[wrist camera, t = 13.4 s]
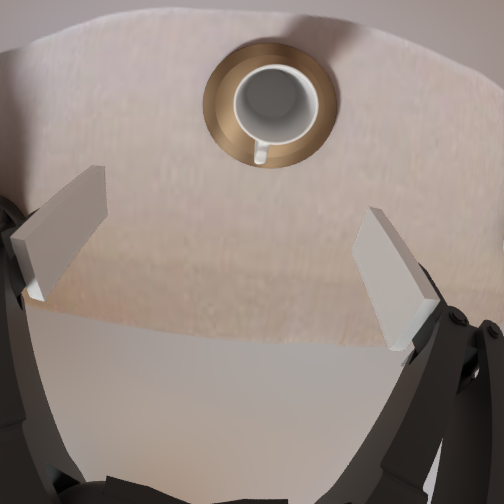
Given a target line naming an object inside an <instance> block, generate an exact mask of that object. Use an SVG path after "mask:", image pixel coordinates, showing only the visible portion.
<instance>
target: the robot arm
mask: <svg viewBox="0 0 504 504" xmlns="http://www.w3.org/2000/svg"><path fill="white" fill-rule="evenodd" d="M107 215H108V213H107V199H106V181H105V166H91V167H89V168H88V169H87V170H85V171H84V172H83V173H82V174H80V175H79V176H78V177H76V178H75V179H74V180H73V181H71V182H70V183H69V184H68V185H67V186H65V187H64V188H63V189H62V190H60V191H59V192H58V193H57V194H56V195H55V196H53V197H52V198H51V199H50V200H49V201H48V202H47V203H45V204H44V205H43V206H42V207H41V208H39V209H37V210H36V211H34V212H32V213H31V214H30V215H28V216H27V217H26V218H24V217H23V215H22V214H21V212H20V211H19V210H18V208H17V207H16V206H15V205H14V204H13V203H12V202H10V201H9V200H7V199H6V198H3V197H0V504H190V503H187V502H185V501H182V500H179V499H177V498H174V497H172V496H169V495H167V494H164V493H162V492H160V491H158V490H155V489H153V488H151V487H149V486H144V485H140V484H136V483H132V482H128V481H124V480H120V479H117V478H114V477H110V476H107V477H106V481H92V482H86V481H85V479H84V477H83V475H82V473H81V472H80V470H79V468H78V467H77V465H76V464H75V463H74V461H73V460H72V459H71V457H70V456H69V454H68V452H67V451H66V448H65V446H64V443H63V441H62V439H61V436H60V434H59V431H58V429H57V426H56V424H55V421H54V418H53V415H52V413H51V410H50V407H49V404H48V401H47V398H46V395H45V392H44V389H43V385H42V382H41V379H40V375H39V371H38V367H37V364H36V360H35V356H34V351H33V347H32V343H31V338H30V333H29V328H28V322H27V316H26V310H25V303H24V298H23V296H22V293H21V292H22V291H23V289H24V288H25V286H26V288H27V290H28V293H29V295H30V298H34V299H37V300H40V301H44V302H45V300H46V299H47V297H48V296H49V294H50V293H51V291H52V290H53V288H54V287H55V285H56V284H57V282H58V281H59V279H60V278H61V276H62V275H63V273H64V272H65V270H66V269H67V268H68V266H69V265H70V263H71V262H72V261H73V259H74V258H75V256H76V255H77V254H78V252H79V251H80V250H81V248H82V247H83V246H84V244H85V243H86V242H87V240H88V239H89V238H90V237H91V235H92V234H93V233H94V231H95V230H96V229H97V228H98V226H99V225H100V224H101V223H102V221H103V220H104V219H105V218H106V217H107ZM351 253H352V255H353V258H354V260H355V262H356V265H357V267H358V270H359V272H360V274H361V277H362V279H363V282H364V284H365V287H366V289H367V292H368V295H369V297H370V300H371V302H372V305H373V308H374V310H375V313H376V316H377V318H378V321H379V324H380V327H381V330H382V332H383V335H384V338H385V341H386V344H387V347H388V350H389V351H390V350H391V351H401V350H402V351H404V350H405V349H406V347H407V346H408V345H409V344H410V342H411V341H412V342H413V344H414V347H415V348H414V350H413V351H412V352H411V353H410V355H409V356H408V357H407V358H406V359H405V361H404V362H403V363H402V364H401V366H404V365H405V366H404V368H403V371H402V373H401V375H400V377H399V379H398V381H397V383H396V385H395V387H394V389H393V391H392V393H391V395H390V397H389V399H388V401H387V403H386V404H385V406H384V408H383V410H382V412H381V413H380V415H379V417H378V419H377V420H376V422H375V424H374V425H373V427H372V429H371V431H370V432H369V434H368V435H367V437H366V439H365V440H364V442H363V444H362V445H361V447H360V448H359V450H358V452H357V453H356V455H355V456H354V457H353V459H352V460H351V462H350V463H349V465H348V466H347V468H346V469H345V470H344V472H343V473H342V475H341V476H340V477H339V479H338V480H337V482H336V483H335V484H334V486H333V487H332V488H331V489H330V490H329V491H328V492H327V493H325V495H323V496H322V497H321V498H320V499H319V500H317V501H316V503H315V504H427V501H428V494H427V493H425V492H424V491H423V485H424V482H425V480H426V478H427V475H428V473H429V471H430V468H431V466H432V464H433V462H434V459H435V457H436V454H437V451H438V449H439V446H440V443H441V441H442V447H441V455H440V461H439V467H438V472H437V477H436V483H435V487H434V492H433V496H432V500H431V504H504V336H503V334H502V331H501V330H500V328H499V326H498V325H497V324H496V323H493V322H492V321H490V320H484V321H483V322H482V324H481V325H480V326H479V328H477V327H474V326H471V325H469V321H468V319H467V317H466V316H465V315H464V313H463V312H461V311H460V310H459V309H457V308H455V307H453V306H448V305H447V303H446V302H445V300H444V298H443V296H442V295H441V293H440V291H439V290H438V288H437V287H436V285H435V283H434V281H433V280H432V278H431V277H430V275H429V273H428V272H427V270H426V269H425V268H424V267H423V266H421V265H420V264H419V263H418V262H417V261H416V259H415V258H414V256H413V254H412V253H411V251H410V250H409V248H408V247H407V245H406V244H405V242H404V241H403V239H402V238H401V237H400V235H399V234H398V232H397V231H396V229H395V228H394V226H393V225H392V224H391V222H390V221H389V219H388V218H387V217H386V215H385V214H384V213H383V211H382V210H381V209H377V208H373V207H369V206H368V209H367V211H366V214H365V217H364V219H363V222H362V224H361V227H360V230H359V232H358V235H357V237H356V240H355V242H354V245H353V247H352V250H351ZM478 369H479V372H478V375H477V377H476V378H475V372H476V371H477V370H478ZM442 438H443V440H442ZM214 504H288V499H267V500H265V499H241V500H235V501H229V502H222V503H214Z"/></svg>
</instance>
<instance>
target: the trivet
mask: <svg viewBox="0 0 504 504" xmlns="http://www.w3.org/2000/svg"><path fill="white" fill-rule="evenodd" d="M271 64H281V65H287V66H290V67H293V68H295V69H297V70H299V71H300V72H302V73H303V74H304V75H305V76H306V77H307V78H308V79H309V80H310V81H311V83H312V84H313V86H314V88H315V90H316V92H317V96H318V102H319V108H318V114H317V117H316V120H315V122H314V124H313V126H312V127H311V128H310V130H309V131H308V132H307V133H306V134H305V135H303V136H302V137H301V138H299V139H297V140H295V141H293V142H290V143H287V144H281V145H270V147H269V151H268V155H267V159H266V162H265V163H264V164H256V163H255V162H254V153H255V139H254V138H252V137H251V136H249V135H248V134H247V133H246V132H245V131H244V130H243V129H242V128H241V126H240V125H239V123H238V121H237V119H236V116H235V112H234V95H235V92H236V89H237V87H238V85H239V84H240V82H241V81H242V79H243V78H244V77H245V76H246V75H247V74H249V73H250V72H251V71H253V70H255V69H257V68H259V67H262V66H265V65H271ZM336 110H337V103H336V95H335V91H334V88H333V85H332V82H331V80H330V79H329V77H328V75H327V73H326V72H325V71H324V69H323V68H322V67H321V66H320V65H319V64H318V63H317V62H316V61H315V60H314V59H313V58H311V57H310V56H309V55H307V54H306V53H304V52H302V51H300V50H298V49H296V48H293V47H290V46H287V45H282V44H275V43H263V44H256V45H252V46H248V47H245V48H242V49H240V50H238V51H236V52H234V53H233V54H231V55H229V56H228V57H227V58H226V59H224V60H223V61H222V62H221V63H220V64H219V65H218V66H217V67H216V69H215V70H214V71H213V73H212V75H211V76H210V78H209V80H208V82H207V85H206V88H205V92H204V96H203V114H204V119H205V123H206V125H207V128H208V130H209V132H210V134H211V136H212V138H213V139H214V140H215V142H216V143H217V144H218V145H219V147H220V148H221V149H222V150H224V151H225V152H226V153H227V154H228V155H230V156H231V157H233V158H234V159H236V160H238V161H240V162H242V163H245V164H247V165H250V166H254V167H259V168H282V167H287V166H291V165H294V164H296V163H299V162H301V161H303V160H305V159H307V158H308V157H310V156H311V155H313V154H314V153H315V152H316V151H317V150H318V149H319V148H320V147H321V146H322V145H323V144H324V142H325V141H326V140H327V138H328V137H329V135H330V133H331V131H332V128H333V125H334V122H335V118H336Z"/></svg>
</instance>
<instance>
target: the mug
mask: <svg viewBox="0 0 504 504" xmlns="http://www.w3.org/2000/svg"><path fill="white" fill-rule="evenodd" d="M318 108H319V102H318V96H317V92H316V90H315V88H314V86H313V84H312V83H311V81H310V80H309V79H308V78H307V77H306V76H305V75H304V74H303V73H302V72H300V71H299V70H297V69H295V68H293V67H290V66H287V65H281V64H271V65H265V66H262V67H259V68H257V69H255V70H253V71H251V72H250V73H249V74H247V75H246V76H245V77H244V78H243V79H242V81H241V82H240V84H239V85H238V87H237V89H236V92H235V95H234V112H235V116H236V119H237V121H238V123H239V125H240V126H241V128H242V129H243V130H244V131H245V132H246V133H247V134H248V135H249V136H251V137H252V138H254V139H255V153H254V162H255V163H256V164H264V163H265V162H266V159H267V155H268V151H269V147H270V145H281V144H287V143H290V142H293V141H295V140H297V139H299V138H301V137H302V136H303V135H305V134H306V133H307V132H308V131H309V130H310V128H311V127H312V126H313V124H314V122H315V120H316V117H317V114H318Z"/></svg>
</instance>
